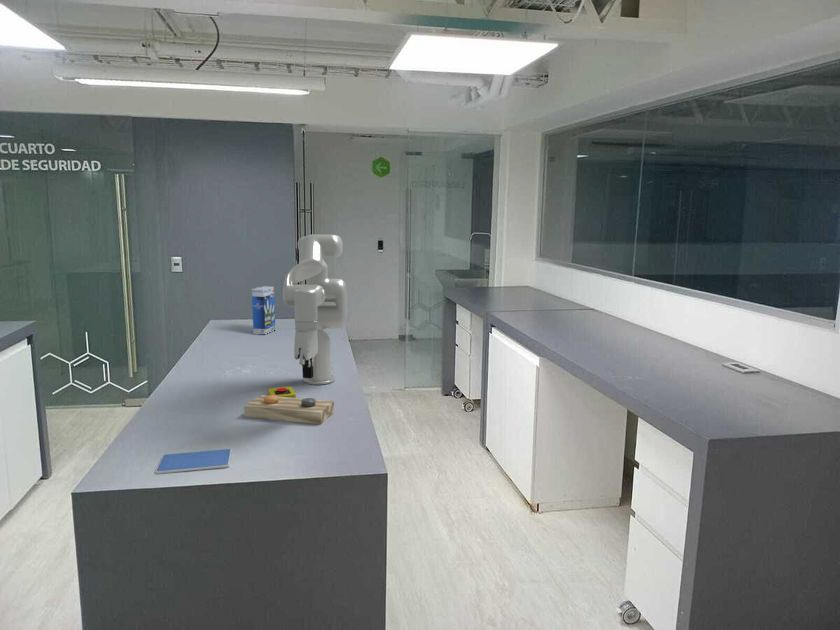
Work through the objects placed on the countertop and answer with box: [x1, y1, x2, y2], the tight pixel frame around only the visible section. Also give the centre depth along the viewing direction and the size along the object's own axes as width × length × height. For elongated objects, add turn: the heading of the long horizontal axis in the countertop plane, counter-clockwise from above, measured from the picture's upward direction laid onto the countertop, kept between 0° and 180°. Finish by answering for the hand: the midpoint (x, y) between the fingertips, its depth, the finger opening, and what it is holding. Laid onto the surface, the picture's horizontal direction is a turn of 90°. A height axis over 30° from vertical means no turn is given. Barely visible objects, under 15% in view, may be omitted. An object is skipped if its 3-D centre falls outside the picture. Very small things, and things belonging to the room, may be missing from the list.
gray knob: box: [301, 397, 317, 407], centre depth 209 cm, size 5×5×6 cm
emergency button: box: [266, 386, 297, 398], centre depth 229 cm, size 9×4×15 cm
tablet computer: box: [154, 448, 233, 475], centre depth 172 cm, size 19×13×1 cm, turn 103°
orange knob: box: [264, 395, 278, 404], centre depth 212 cm, size 5×5×6 cm
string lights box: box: [251, 285, 276, 335], centre depth 343 cm, size 13×8×26 cm, turn 167°
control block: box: [243, 394, 335, 425], centre depth 211 cm, size 12×28×4 cm, turn 77°
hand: (308, 377), depth 208 cm, fingers closed
